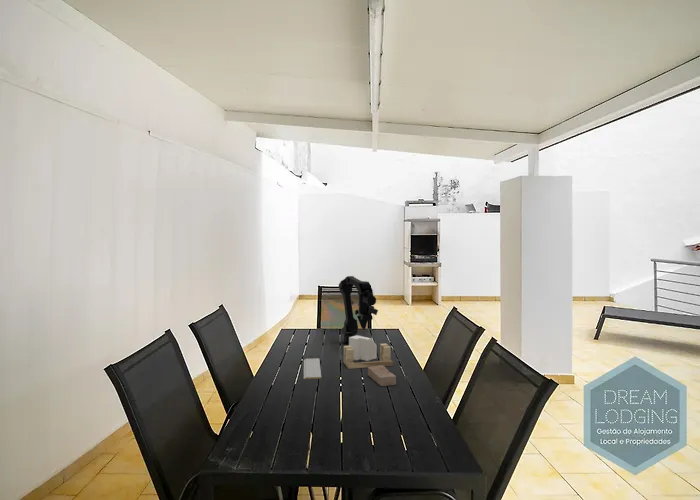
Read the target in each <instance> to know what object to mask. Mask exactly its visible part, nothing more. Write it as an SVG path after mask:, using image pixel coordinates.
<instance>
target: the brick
mask: <svg viewBox="0 0 700 500" xmlns="http://www.w3.org/2000/svg"><path fill="white" fill-rule="evenodd" d="M367 375H368V377H369V378H371V379H372V380H373V381H374V382H375V383H377V385H379V386H381V387H387V386H396V385H397V376H396V375H395V374H394V373H393V372H390V371H389V369H387V367H386V366H382V365H379V366H373V367H368V368H367Z"/></svg>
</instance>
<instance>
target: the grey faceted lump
mask: <svg viewBox="0 0 700 500" xmlns="http://www.w3.org/2000/svg"><path fill="white" fill-rule="evenodd" d="M348 346H351V347H352V348H353V349H354V353H353V361H359V360H361V361H364V362H370V361H372V360H375V359H377V357H378V356H377V355H378V354H377V352H378V351H377V350H378V349H377V348H378V347H377V344H376V343H375V341H374V339H372V338H370V337H366V336H363V335H357V334H355V336H352V337H349V344H348Z"/></svg>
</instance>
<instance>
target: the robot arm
mask: <svg viewBox="0 0 700 500" xmlns="http://www.w3.org/2000/svg"><path fill="white" fill-rule="evenodd" d="M353 287H355V288H356V290H357V291H358V292H357V295H358V304H357V306H358V309H355V311H354V310H353V304H352V297H351V295H352V291H353ZM338 290H339V292H340V294H341V295H342V298H343V306H344V313H345V320H344V322H343V327H342V329H341V333H342V335H343V342H342V344H346V345H349V337H352V336H356V334H358V329H359V325H360V328H361V329H363V330H366V327H367V323H368V321H369V320H370V321H373V318H374V317H373V315H374V316H377V314H378V311H379V310H378V309H377V308H375V305H376V303H377V298H376V296H374V290H373V288H372V285H371V283H370V282H369V281H366V280H364V281H363V280H360V279H358V278H356V277H355V276H353V275H347V276H346V277H345V278H343V279H342V280H340V282H339V284H338ZM354 315H355V316H356V318H357V319H358V320H357V319H356V318H355V317H354ZM358 322H359V325H358Z"/></svg>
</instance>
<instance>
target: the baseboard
mask: <svg viewBox="0 0 700 500" xmlns="http://www.w3.org/2000/svg"><path fill="white" fill-rule="evenodd" d="M321 369H322V368H321V362H320V357H311V358H305V359H303V380H316V379H317V380H319V379H320V380H321V379H322V371H321Z"/></svg>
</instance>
